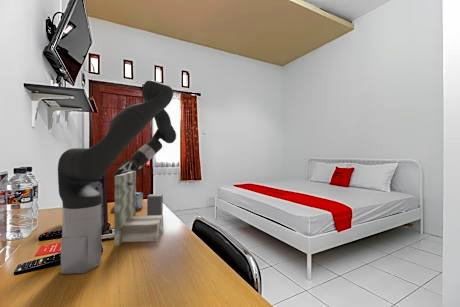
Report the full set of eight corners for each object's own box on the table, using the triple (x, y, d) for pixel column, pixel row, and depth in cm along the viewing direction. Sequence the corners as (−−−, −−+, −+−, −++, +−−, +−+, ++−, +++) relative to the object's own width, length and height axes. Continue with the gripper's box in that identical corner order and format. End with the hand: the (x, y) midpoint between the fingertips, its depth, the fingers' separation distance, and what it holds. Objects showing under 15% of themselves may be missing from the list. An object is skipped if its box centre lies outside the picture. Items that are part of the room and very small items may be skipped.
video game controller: (124, 217, 114) (131, 204, 116) (116, 215, 111) (123, 201, 113) (117, 213, 121) (123, 201, 123) (109, 211, 118) (115, 198, 120)
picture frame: (72, 245, 77) (73, 172, 77) (49, 242, 79) (49, 171, 79) (108, 228, 93) (108, 169, 93) (88, 226, 95) (88, 168, 95)
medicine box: (125, 208, 126) (125, 193, 126) (130, 206, 130) (130, 191, 130) (138, 209, 125) (138, 193, 125) (143, 207, 129) (143, 192, 129)
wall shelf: (154, 244, 78) (155, 175, 78) (114, 245, 77) (114, 175, 76) (164, 227, 96) (164, 171, 96) (131, 227, 95) (132, 171, 94)
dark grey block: (160, 222, 102) (160, 196, 102) (147, 222, 102) (147, 196, 102) (162, 219, 107) (162, 194, 107) (149, 219, 106) (149, 194, 106)
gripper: (132, 147, 114) (106, 170, 107) (146, 152, 105) (119, 177, 97) (141, 158, 119) (116, 180, 111) (155, 163, 110) (129, 187, 102)
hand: (117, 178), depth 104 cm, fingers open, 8 cm apart
